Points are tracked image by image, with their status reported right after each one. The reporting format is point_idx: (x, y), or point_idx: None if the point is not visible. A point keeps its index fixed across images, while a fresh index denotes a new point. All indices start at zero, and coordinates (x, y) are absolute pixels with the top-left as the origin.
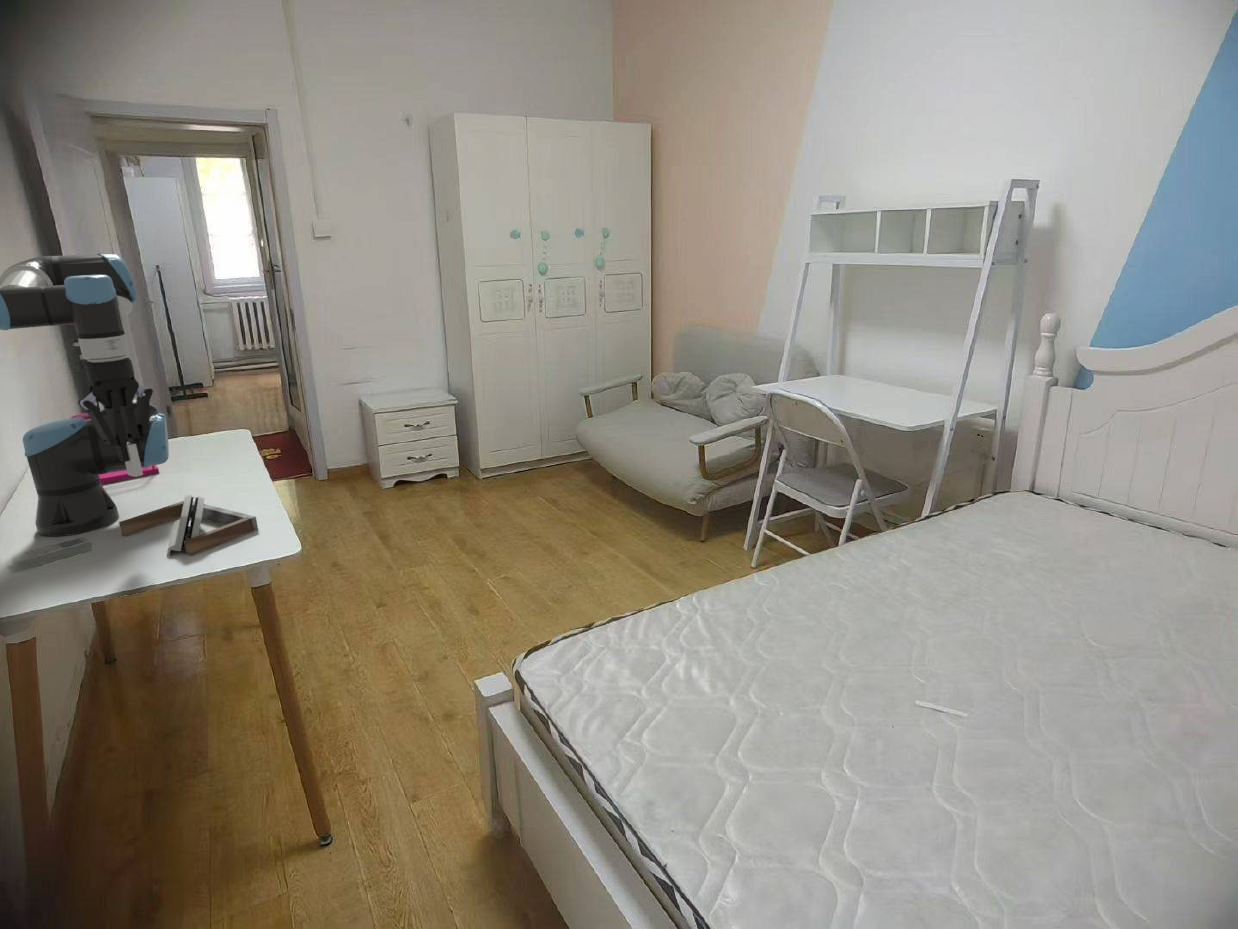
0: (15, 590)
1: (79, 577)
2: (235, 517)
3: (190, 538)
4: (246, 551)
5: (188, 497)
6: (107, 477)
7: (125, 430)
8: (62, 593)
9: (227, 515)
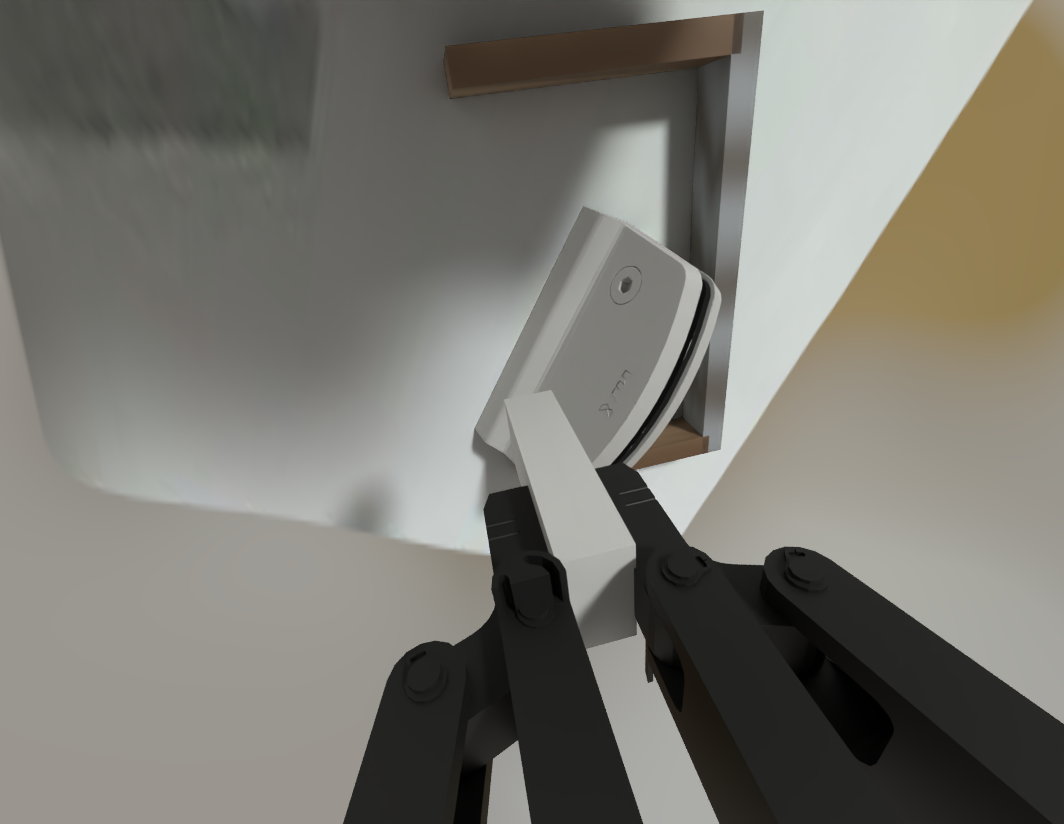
0: (37, 337)
1: (243, 391)
2: (702, 392)
3: None
4: None
5: (655, 389)
6: None
7: (704, 686)
8: (193, 468)
9: (705, 354)
